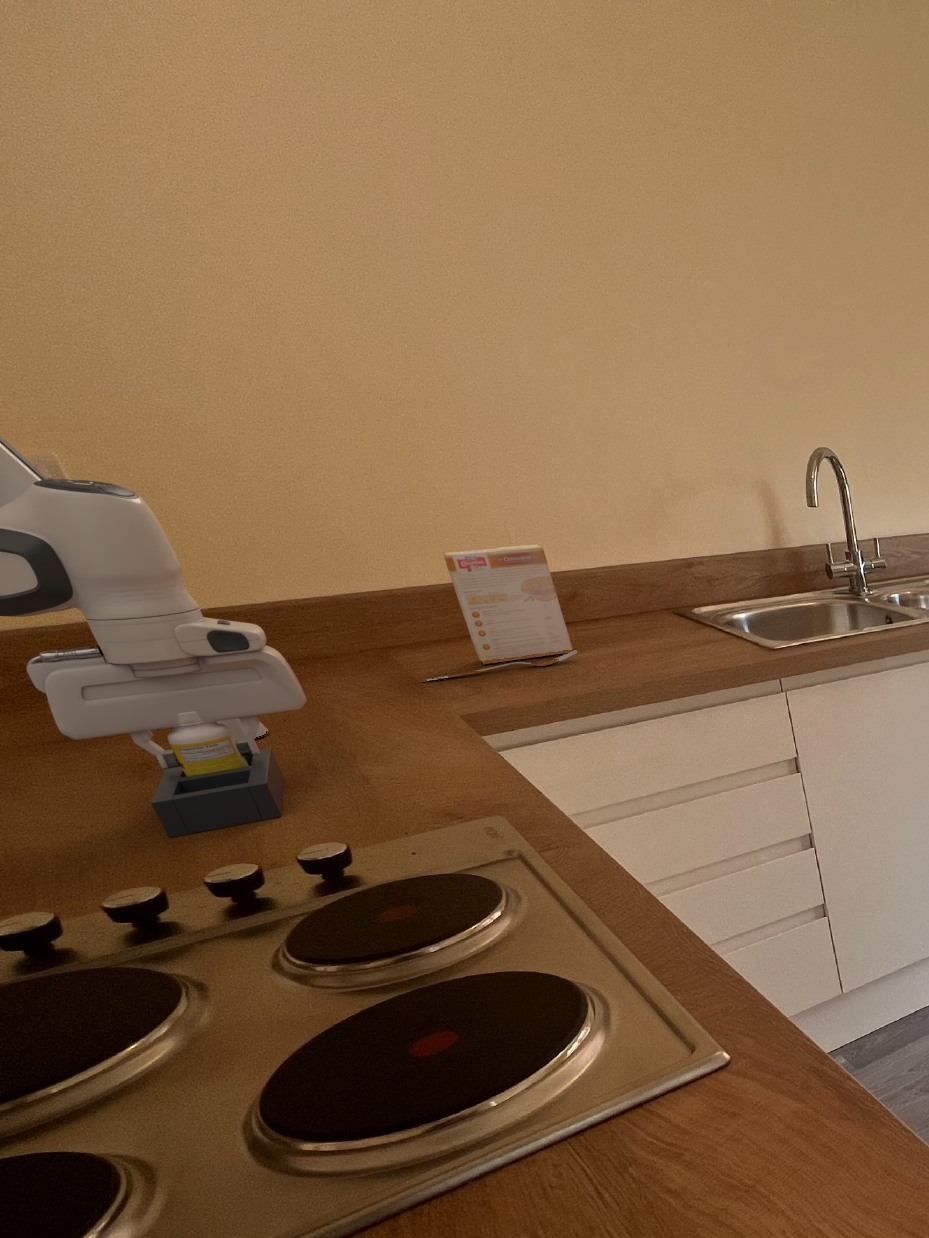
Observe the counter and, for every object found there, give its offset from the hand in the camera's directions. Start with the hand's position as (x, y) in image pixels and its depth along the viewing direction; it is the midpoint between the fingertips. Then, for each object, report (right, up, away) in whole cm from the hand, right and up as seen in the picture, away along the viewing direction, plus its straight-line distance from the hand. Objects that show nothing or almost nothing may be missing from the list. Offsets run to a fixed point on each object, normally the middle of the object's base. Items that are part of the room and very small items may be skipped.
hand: (213, 760), depth 110 cm
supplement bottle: (0, -3, +2) cm, 4 cm away
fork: (-8, +23, +60) cm, 65 cm away
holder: (+3, -5, -1) cm, 6 cm away
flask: (-21, +6, +24) cm, 32 cm away
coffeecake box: (-12, +29, +70) cm, 77 cm away
